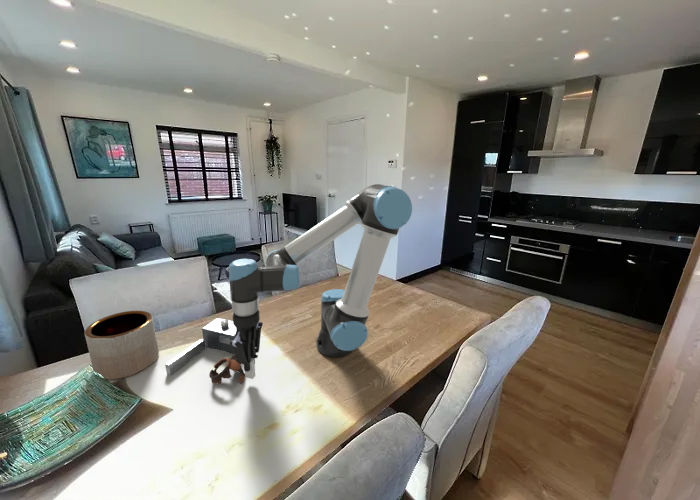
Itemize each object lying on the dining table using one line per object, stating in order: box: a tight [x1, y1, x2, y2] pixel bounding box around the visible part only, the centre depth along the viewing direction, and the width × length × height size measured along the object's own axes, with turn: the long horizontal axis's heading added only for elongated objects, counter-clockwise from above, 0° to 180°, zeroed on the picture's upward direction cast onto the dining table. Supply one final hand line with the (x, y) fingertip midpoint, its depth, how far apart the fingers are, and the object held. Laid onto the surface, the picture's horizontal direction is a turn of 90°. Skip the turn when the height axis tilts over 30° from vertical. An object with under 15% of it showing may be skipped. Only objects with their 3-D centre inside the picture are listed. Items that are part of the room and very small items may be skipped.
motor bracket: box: [165, 317, 236, 376], centre depth 100 cm, size 14×24×10 cm, turn 163°
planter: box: [84, 310, 160, 380], centre depth 95 cm, size 18×18×16 cm
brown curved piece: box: [208, 354, 246, 385], centre depth 92 cm, size 12×10×8 cm
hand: (250, 376), depth 90 cm, fingers closed
